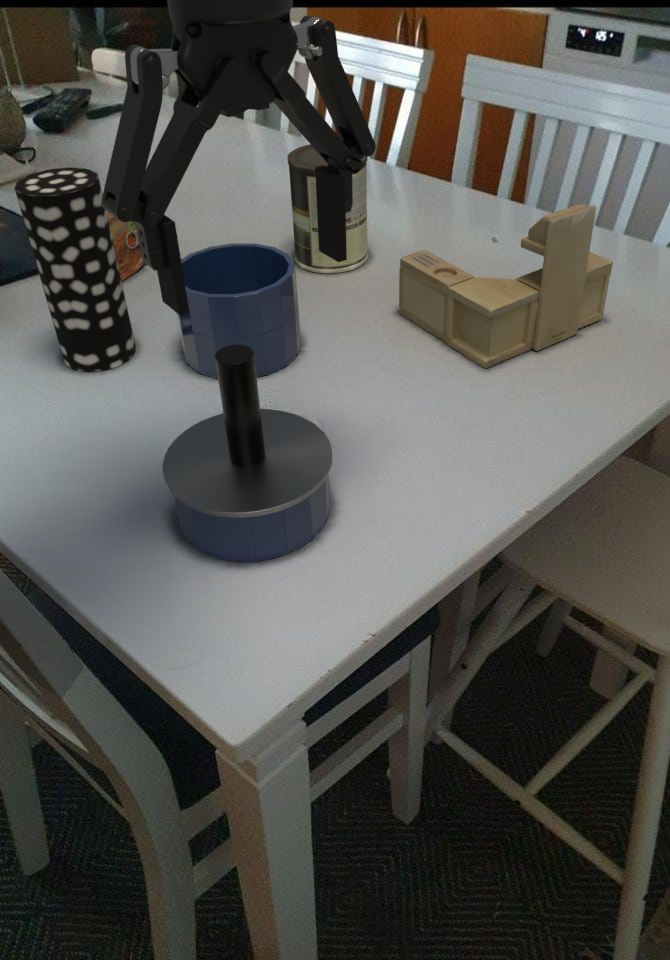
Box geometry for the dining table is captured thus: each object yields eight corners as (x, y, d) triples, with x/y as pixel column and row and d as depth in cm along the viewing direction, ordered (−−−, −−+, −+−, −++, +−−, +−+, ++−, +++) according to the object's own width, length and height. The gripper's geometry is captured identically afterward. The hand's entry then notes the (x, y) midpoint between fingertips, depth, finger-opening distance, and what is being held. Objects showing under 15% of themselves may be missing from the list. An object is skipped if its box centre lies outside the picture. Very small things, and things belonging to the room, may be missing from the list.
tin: (83, 307, 104) (66, 244, 98) (64, 303, 105) (47, 240, 100) (154, 261, 114) (143, 202, 109) (136, 257, 115) (124, 198, 110)
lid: (178, 541, 63) (153, 424, 55) (154, 436, 73) (130, 327, 66) (355, 500, 66) (352, 384, 58) (307, 405, 76) (299, 298, 69)
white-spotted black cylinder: (114, 328, 99) (75, 161, 86) (149, 353, 94) (113, 181, 81) (51, 352, 95) (1, 181, 82) (83, 380, 90) (35, 202, 77)
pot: (195, 389, 88) (181, 306, 82) (176, 332, 98) (162, 254, 92) (313, 366, 91) (308, 284, 84) (283, 313, 101) (277, 236, 94)
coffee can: (280, 265, 112) (271, 160, 103) (319, 238, 118) (314, 137, 109) (344, 280, 107) (341, 172, 98) (381, 251, 114) (381, 147, 105)
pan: (192, 578, 66) (182, 529, 63) (169, 479, 76) (159, 433, 73) (348, 540, 69) (347, 491, 65) (306, 450, 79) (302, 404, 75)
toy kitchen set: (509, 273, 107) (522, 156, 97) (607, 322, 96) (632, 195, 86) (397, 314, 100) (399, 191, 90) (488, 372, 89) (502, 239, 79)
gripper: (36, -30, 39) (123, 353, 52) (431, -77, 50) (419, 251, 63) (-12, -44, 44) (79, 311, 57) (358, -84, 55) (362, 222, 68)
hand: (258, 280), depth 60 cm, fingers open, 13 cm apart
